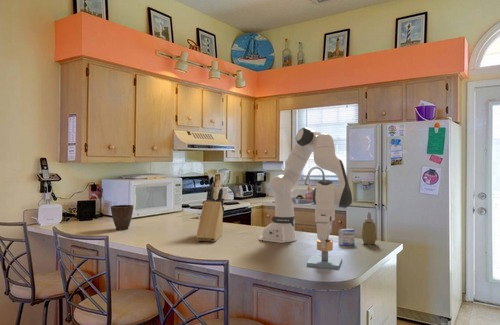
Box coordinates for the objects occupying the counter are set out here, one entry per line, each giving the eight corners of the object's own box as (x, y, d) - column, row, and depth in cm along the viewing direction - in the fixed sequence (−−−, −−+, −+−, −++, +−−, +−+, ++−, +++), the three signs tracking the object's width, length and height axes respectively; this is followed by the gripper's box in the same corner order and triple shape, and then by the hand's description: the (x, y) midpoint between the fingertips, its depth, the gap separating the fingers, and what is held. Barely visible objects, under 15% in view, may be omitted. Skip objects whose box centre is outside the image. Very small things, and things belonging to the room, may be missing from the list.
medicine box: (342, 245, 207) (342, 230, 207) (338, 244, 211) (338, 228, 211) (354, 245, 209) (354, 229, 209) (350, 243, 214) (350, 228, 214)
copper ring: (316, 250, 169) (316, 241, 169) (318, 247, 175) (318, 238, 175) (331, 251, 166) (331, 242, 166) (333, 248, 173) (333, 239, 173)
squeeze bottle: (373, 242, 216) (373, 211, 216) (378, 245, 208) (378, 213, 208) (359, 242, 216) (359, 211, 216) (364, 245, 208) (364, 213, 208)
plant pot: (105, 230, 250) (105, 206, 250) (119, 226, 264) (119, 204, 264) (124, 231, 246) (124, 207, 246) (137, 228, 260) (137, 205, 260)
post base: (306, 266, 167) (306, 243, 166) (312, 258, 180) (312, 237, 180) (338, 269, 162) (338, 246, 162) (341, 261, 175) (342, 239, 175)
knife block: (225, 231, 248) (225, 185, 248) (215, 243, 213) (215, 189, 213) (208, 231, 249) (208, 185, 249) (195, 242, 214) (195, 188, 214)
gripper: (321, 212, 182) (321, 240, 182) (314, 218, 162) (314, 250, 162) (334, 213, 180) (334, 241, 180) (329, 219, 160) (328, 251, 160)
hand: (324, 245), depth 171 cm, fingers closed on copper ring, 7 cm apart
